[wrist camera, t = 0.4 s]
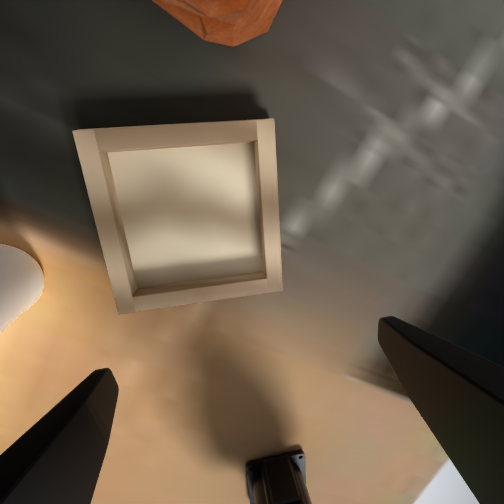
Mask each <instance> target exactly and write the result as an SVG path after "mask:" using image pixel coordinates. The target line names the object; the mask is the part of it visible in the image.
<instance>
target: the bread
mask: <svg viewBox="0 0 504 504" xmlns="http://www.w3.org/2000/svg"><path fill="white" fill-rule="evenodd" d="M152 1H153V2H155V3H156V4H157V5H158V6H160V7H161V8H162V9H164V10H165V11H166V12H168V13H169V14H170V15H172V16H173V17H174V18H176V19H177V20H178V21H179V22H181V23H182V24H183V25H185V26H186V27H187V28H189V29H190V30H191V31H193V32H194V33H195V34H197V35H198V36H199V37H200V38H202V39H203V40H205V41H210V42H214V43H219V44H223V45H228V46H232V47H233V46H237V45H240V44H242V43H244V42H246V41H248V40H250V39H253V38H255V37H257V36H259V35H261V34H264V33H266V32H268V30H269V28H270V26H271V23H272V21H273V19H274V17H275V15H276V13H277V11H278V9H279V7H280V4H281V2H282V0H152Z"/></svg>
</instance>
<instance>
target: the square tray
mask: <svg viewBox="0 0 504 504" xmlns="http://www.w3.org/2000/svg"><path fill="white" fill-rule="evenodd" d="M72 132H73V136H74V139H75V143H76V147H77V151H78V155H79V159H80V163H81V167H82V171H83V175H84V179H85V183H86V187H87V191H88V195H89V199H90V203H91V207H92V211H93V215H94V219H95V223H96V227H97V231H98V235H99V239H100V243H101V247H102V251H103V255H104V259H105V263H106V267H107V271H108V275H109V279H110V283H111V286H112V290H113V294H114V298H115V302H116V306H117V310H118V314H125V313H132V312H139V311H146V310H153V309H160V308H166V307H173V306H180V305H187V304H194V303H201V302H207V301H214V300H221V299H228V298H235V297H242V296H249V295H255V294H262V293H269V292H276V291H283V286H282V266H281V246H280V225H279V205H278V185H277V164H276V144H275V123H274V119H273V118H269V119H252V120H234V121H217V122H199V123H182V124H164V125H147V126H129V127H112V128H94V129H77V130H75V131H72Z"/></svg>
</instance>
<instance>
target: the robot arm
mask: <svg viewBox="0 0 504 504" xmlns="http://www.w3.org/2000/svg"><path fill="white" fill-rule="evenodd" d="M378 342H379V344H380V346H381V348H382V350H383V352H384V354H385V356H386V357H387V359H388V361H389V363H390V365H391V367H392V369H393V371H394V373H395V374H396V376H397V378H398V380H399V382H400V384H401V385H402V387H403V389H404V390H405V392H406V393H407V395H408V396H409V398H410V399H411V401H412V402H413V404H414V405H415V407H416V408H417V410H418V411H419V413H420V414H421V416H422V417H423V419H424V420H425V422H426V423H427V425H428V426H429V428H430V430H431V431H432V433H433V434H434V436H435V437H436V439H437V440H438V442H439V443H440V445H441V446H442V448H443V449H444V451H445V452H446V454H447V455H448V457H449V458H450V460H451V461H452V462H453V464H454V466H455V467H456V469H457V470H458V471H459V473H460V475H461V476H462V477H463V479H464V481H465V482H466V484H467V485H468V487H469V488H470V490H471V491H472V493H473V494H474V495H475V497H476V498H477V500H478V502H479V503H480V504H504V367H503V366H501V365H499V364H496V363H494V362H492V361H490V360H488V359H485V358H483V357H481V356H479V355H477V354H474V353H472V352H470V351H468V350H466V349H464V348H461V347H459V346H457V345H455V344H453V343H450V342H448V341H446V340H444V339H442V338H440V337H437V336H435V335H433V334H431V333H429V332H426V331H424V330H422V329H420V328H418V327H415V326H413V325H411V324H409V323H407V322H405V321H402V320H400V319H398V318H396V317H393V316H388V317H382V318H380V319H379V324H378ZM118 392H119V389H118V384H117V382H116V380H115V378H114V376H113V374H112V371H111V370H110V369H109V368H103V369H97V370H95V371H93V372H92V373H91V374H90V375H89V376H88V377H87V378H86V379H84V380H83V381H82V382H81V383H80V384H79V385H78V386H77V387H75V388H74V389H73V390H72V391H71V392H70V393H69V394H68V395H67V396H65V397H64V398H63V399H62V400H61V401H60V402H59V403H58V404H57V405H55V406H54V407H53V408H52V409H51V410H50V411H49V412H48V413H47V414H45V415H44V416H43V417H42V418H41V419H40V420H39V421H38V422H37V423H35V424H34V425H33V426H32V427H31V428H30V429H29V430H28V431H27V432H25V433H24V434H23V435H22V436H21V437H20V438H19V439H18V440H17V441H15V442H14V443H13V444H12V445H11V446H10V447H9V448H8V449H7V450H5V451H4V452H3V453H2V454H1V455H0V504H90V503H91V500H92V497H93V493H94V490H95V487H96V483H97V480H98V477H99V473H100V470H101V467H102V463H103V460H104V457H105V453H106V450H107V446H108V442H109V438H110V433H111V428H112V423H113V418H114V413H115V408H116V403H117V398H118ZM246 472H247V480H248V489H249V497H250V504H312V503H311V500H310V496H309V493H308V490H307V487H306V475H305V455H304V452H303V451H302V450H299V451H295V452H290V453H286V454H281V455H277V456H273V457H268V458H264V459H260V460H255V461H251V462H248V463H247V464H246Z"/></svg>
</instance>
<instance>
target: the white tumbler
mask: <svg viewBox="0 0 504 504" xmlns="http://www.w3.org/2000/svg"><path fill="white" fill-rule="evenodd" d="M44 285H45V279H44V274H43V271H42V269H41V267H40V266H39V264H38V263H37V261H36V260H35V259H34V258H33V257H32V256H30V255H29V254H28V253H26V252H24V251H23V250H21V249H19V248H16V247H13V246H10V245H5V244H0V334H1V333H2V332H3V331H4V330H5V329H6V328H7V327H8V326H9V325H11V324H12V323H13V322H14V321H15V320H16V319H17V318H18V317H19V316H20V315H21V314H22V313H24V312H25V311H26V310H28V309H29V308H30V307H31V306H33V305H34V304H35V303H36V302H37V301H38V300H39V298H40V297H41V295H42V293H43V290H44Z"/></svg>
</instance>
